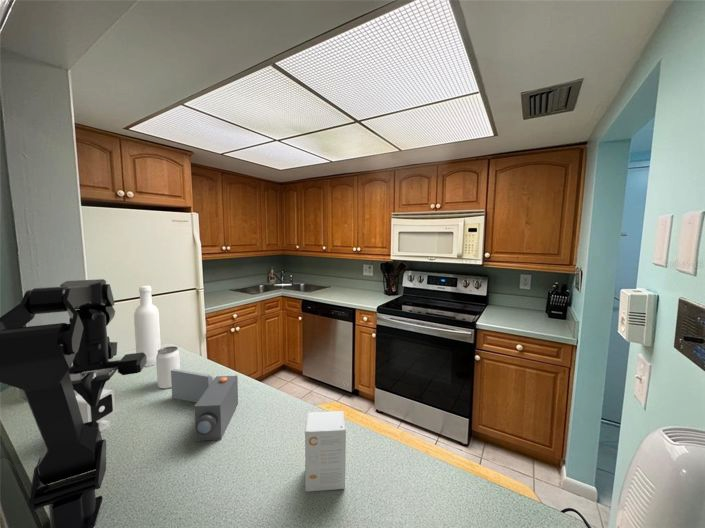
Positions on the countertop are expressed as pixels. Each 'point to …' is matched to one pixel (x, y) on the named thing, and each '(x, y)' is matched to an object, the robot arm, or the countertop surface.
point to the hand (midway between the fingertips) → (94, 405)
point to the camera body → (216, 407)
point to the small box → (325, 451)
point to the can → (167, 365)
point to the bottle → (147, 327)
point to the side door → (189, 384)
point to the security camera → (98, 409)
